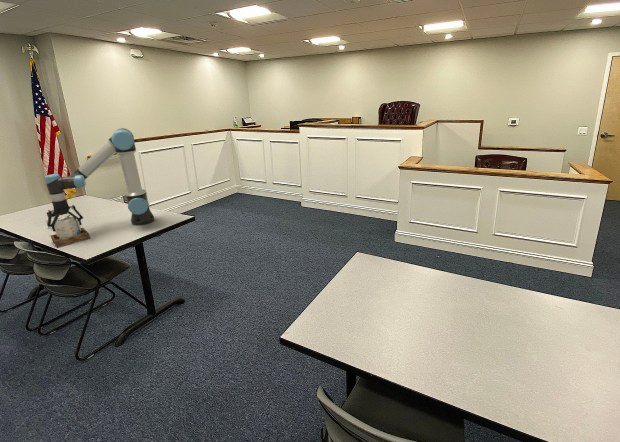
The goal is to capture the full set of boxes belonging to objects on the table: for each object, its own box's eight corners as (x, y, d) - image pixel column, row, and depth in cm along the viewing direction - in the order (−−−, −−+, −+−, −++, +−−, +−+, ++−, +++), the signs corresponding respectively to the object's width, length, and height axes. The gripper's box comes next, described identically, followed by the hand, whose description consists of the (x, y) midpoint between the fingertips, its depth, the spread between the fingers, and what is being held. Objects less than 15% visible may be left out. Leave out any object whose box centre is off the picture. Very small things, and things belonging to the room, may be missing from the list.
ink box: (67, 234, 223) (61, 214, 219) (80, 233, 224) (74, 213, 219) (59, 239, 215) (52, 219, 211) (73, 238, 216) (67, 218, 211)
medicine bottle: (65, 225, 247) (60, 209, 243) (55, 229, 240) (50, 213, 236) (58, 225, 249) (52, 209, 245) (48, 228, 243) (42, 212, 239)
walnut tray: (84, 232, 231) (83, 227, 230) (90, 238, 221) (88, 232, 220) (52, 241, 220) (50, 235, 219) (56, 247, 210) (54, 241, 208)
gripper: (79, 194, 221) (89, 226, 229) (34, 203, 206) (45, 237, 214) (82, 196, 216) (92, 229, 224) (35, 205, 201) (47, 240, 209)
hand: (69, 233), depth 219 cm, fingers closed on ink box, 11 cm apart
